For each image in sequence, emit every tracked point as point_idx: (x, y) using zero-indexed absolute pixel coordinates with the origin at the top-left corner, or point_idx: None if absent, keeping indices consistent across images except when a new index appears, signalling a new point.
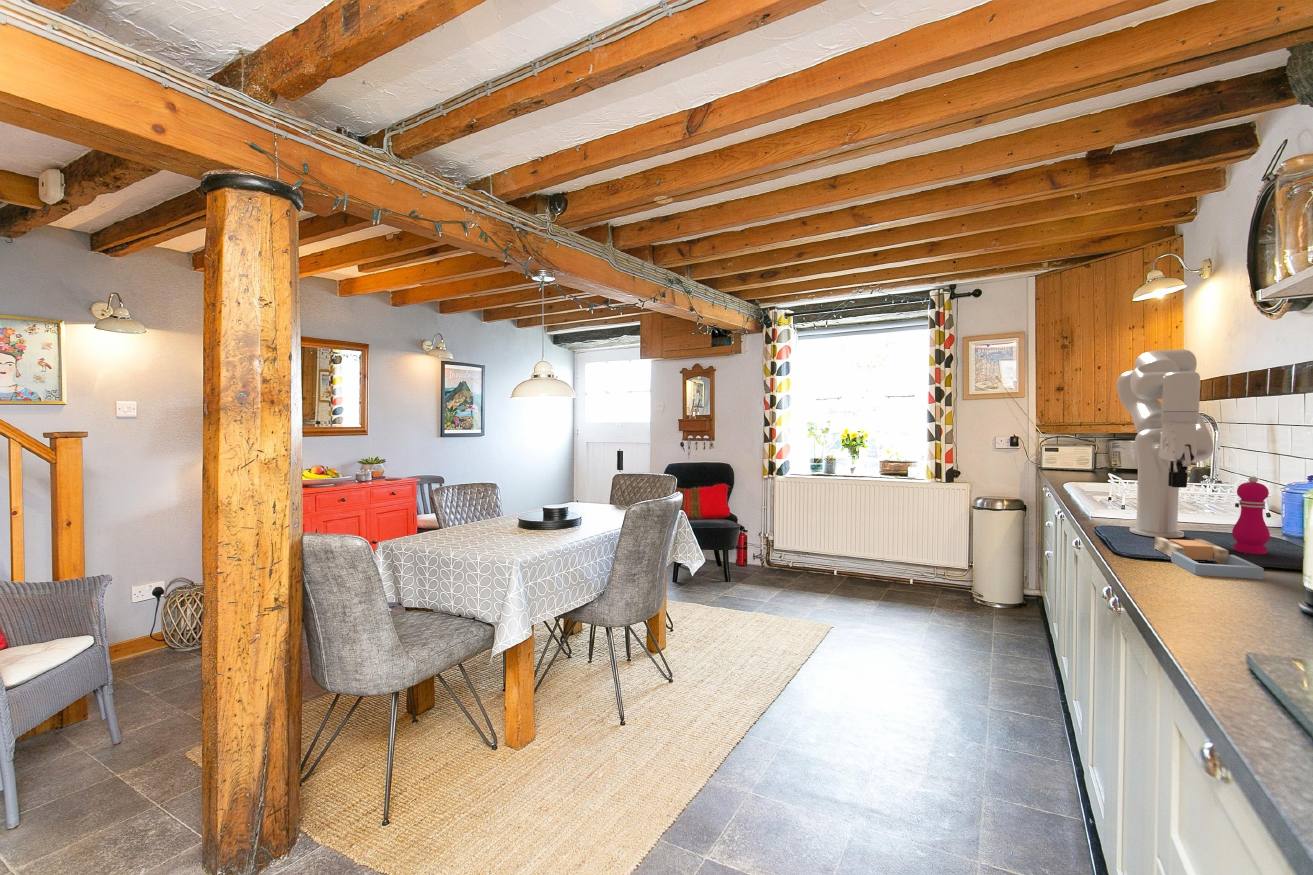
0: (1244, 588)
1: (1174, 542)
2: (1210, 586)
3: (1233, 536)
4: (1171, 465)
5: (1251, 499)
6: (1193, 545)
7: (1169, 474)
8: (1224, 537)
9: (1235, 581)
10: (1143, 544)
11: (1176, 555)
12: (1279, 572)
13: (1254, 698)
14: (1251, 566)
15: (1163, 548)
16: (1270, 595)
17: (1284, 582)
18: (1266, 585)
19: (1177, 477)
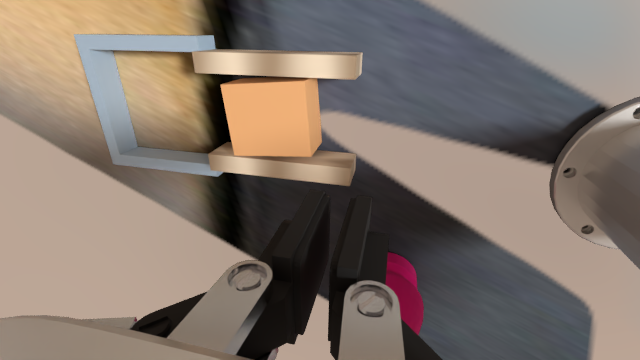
0: (43, 84)
1: (275, 81)
2: (18, 22)
3: (387, 273)
4: (342, 344)
5: None
6: (230, 110)
7: (341, 246)
8: (568, 323)
9: (87, 95)
10: (442, 47)
11: (169, 35)
12: (202, 214)
13: None
14: (118, 150)
15: (291, 52)
16: (22, 104)
17: (127, 178)
18: (88, 136)
19: (266, 247)
